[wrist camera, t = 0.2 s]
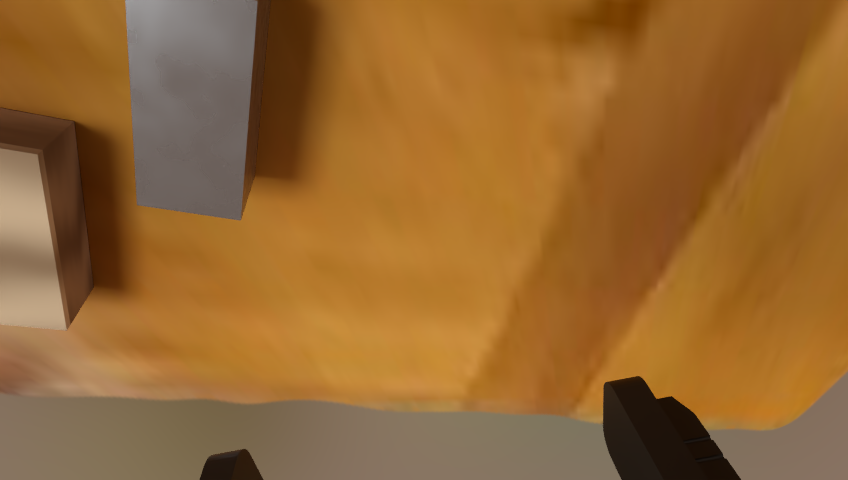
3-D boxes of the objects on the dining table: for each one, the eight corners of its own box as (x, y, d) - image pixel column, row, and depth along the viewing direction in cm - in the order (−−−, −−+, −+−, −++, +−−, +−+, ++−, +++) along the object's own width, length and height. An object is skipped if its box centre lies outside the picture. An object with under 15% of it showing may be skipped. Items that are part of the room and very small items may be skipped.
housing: (162, -49, 24) (123, -33, 20) (272, -21, 25) (257, 1, 21) (166, 159, 30) (137, 204, 26) (255, 174, 31) (240, 220, 27)
